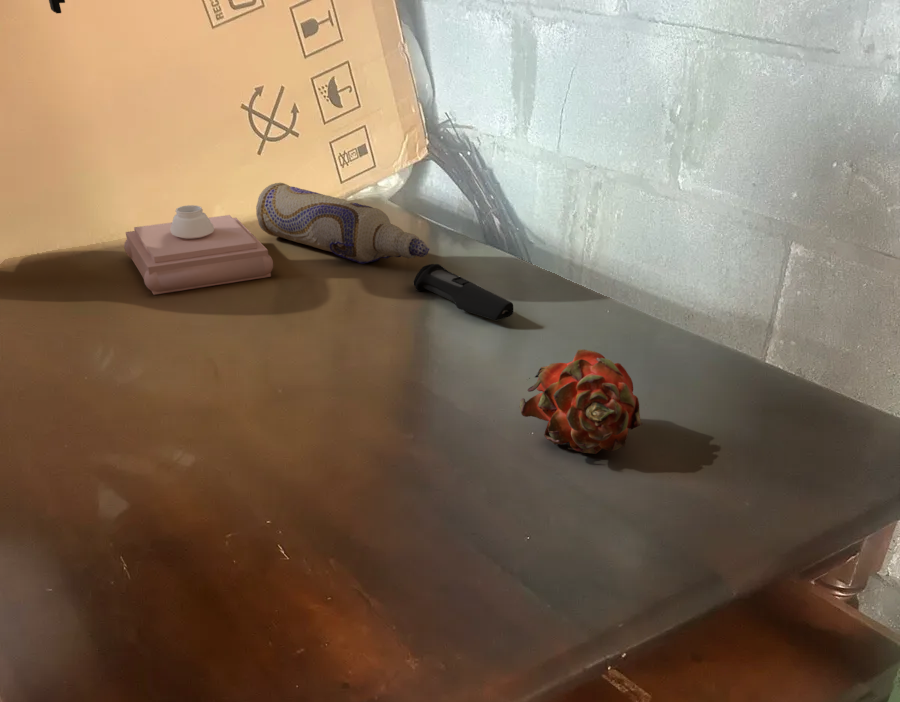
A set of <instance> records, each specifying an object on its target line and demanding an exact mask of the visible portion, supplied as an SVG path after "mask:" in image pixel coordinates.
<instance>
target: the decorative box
mask: <svg viewBox="0 0 900 702" xmlns="http://www.w3.org/2000/svg"><path fill="white" fill-rule="evenodd" d="M208 218H209V220H210V222H211V223H212V225H213V226H214V231H213V232H212V233H211V234H209V235H207V236H205V237H201V238H196V239H184V238H179V237H177V236H174V235H172V233H171V231H170V228H171V225H172V222H165V223H164V222H163V223H157V224H149V225H142V226H134V227H133V230H131V231H125V237H126V240H125V242H124V245H123V246H124V247H123V248H124V252H125V253H126V255H127V256H128V257H129V258H130V259H131V260H132V262H133V264H134V265H135V267H136V268H137V271H138V272H139V273H140V275H141V277H142V279H143V283H144V285H145V287H146V288H147V289H148V290H150V291H151V293H152V294H153V295H154V296H156V295H163V294H169V293H174V292H180V291H188V290H194V289H200V288H207V287H212V286H219V285H226V284H232V283H238V282H239V283H240V282H246V281H251V280H258V279H264V278H265V279H266V278H270V277H272V271H273V269H274V260H273V258H272V256H271V255H270V254H269V250H268V249H267V248H266V246H264V244H263V243H262V242H261V241H260V240H259V239H258V238H257V237H256V236H255V235H254V234H253V233H252V232H251V231H250V230H249V229H248V228H247V227H246V226H245V224H243V223H242V222H241V220H239V219H238V218H237V217H233V216H232V215H230V214H225V215H219V216H211V217H208Z"/></svg>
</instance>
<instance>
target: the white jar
mask: <svg viewBox="0 0 900 702" xmlns="http://www.w3.org/2000/svg"><path fill="white" fill-rule="evenodd" d="M203 211H204V209H203V207H202V206H199V205H195V204H191V205H189V204H188V205H181V206H178V207H177V208H176V209H175V213H176V214H174V216H173V218H172V225H171V228H170V231H171V233H172V235H174V236H177V237H179V238H184V239H196V238H201V237H205V236H207V235H209V234H211V233H212V232H213V231H214V226H213V225H212V223H211V222H210V220H209V218H210V217H209V216H208V215H207V213H205V212H203Z"/></svg>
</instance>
